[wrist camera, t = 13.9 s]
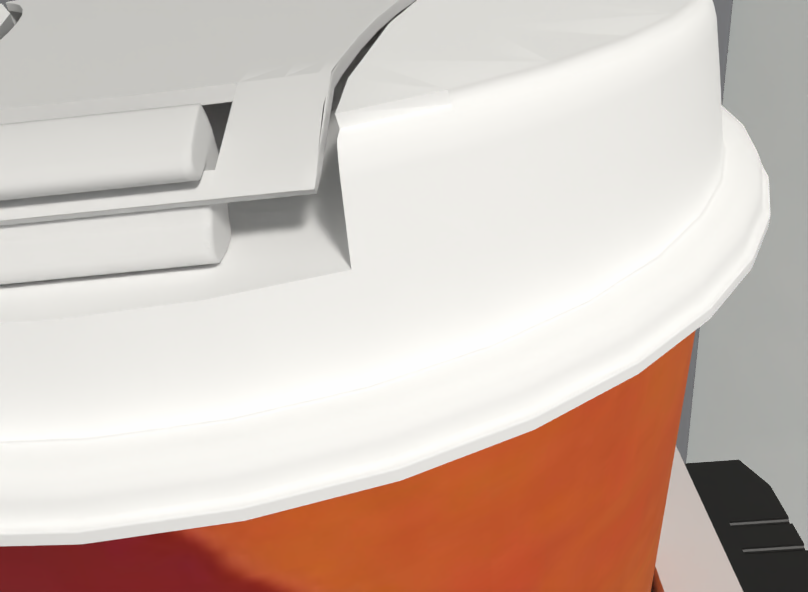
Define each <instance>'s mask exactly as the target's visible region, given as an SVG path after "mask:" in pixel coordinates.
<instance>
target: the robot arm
mask: <svg viewBox="0 0 808 592" xmlns="http://www.w3.org/2000/svg"><path fill="white" fill-rule="evenodd" d="M788 518H789V517H788V515H787V514H786V512H785V510H784V509H783V507H782V505H781V503H780V502H779V500H778V498H777V497H776V495H775V493H774V491H773V490H772V488H771V486H770V485H769V484H767V483H766V482H765V481H764V480H763V479H761V478H760V477H759V476H758V475H757V474H755V473H754V472H753V471H752V470H751V469H749V468H748V467H747V466H746V465H744V464H743V463H742V462H741V461H740V460H729V461H715V462H701V463H688V464H684V462H683V460H682V458H681V455H680V453H679V451H678V449H677V447H675V453H674V459H673V465H672V470H671V476H670V482H669V488H668V494H667V499H666V505H665V511H664V517H663V523H662V528H661V534H660V540H659V546H658V552H657V558H656V563H655V569H654V575H653V581H652V587H651V592H808V550H807V551H806V550H805V548H804V543H803V541H802V540H801V538H800V536H799V534H798V533H797V531H796V529H795V527H794V526H793V524H790V523H789V519H788Z"/></svg>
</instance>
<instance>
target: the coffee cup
mask: <svg viewBox="0 0 808 592" xmlns="http://www.w3.org/2000/svg"><path fill="white" fill-rule="evenodd" d="M6 5H7V8H8V10H7V9H6V8H5V7H4V6H3V5H2V3H1V4H0V592H651V587H652V581H653V575H654V569H655V563H656V558H657V552H658V546H659V540H660V534H661V528H662V523H663V517H664V511H665V505H666V499H667V494H668V488H669V482H670V476H671V470H672V465H673V459H674V453H675V447H676V441H677V435H678V430H679V424H680V418H681V412H682V406H683V401H684V395H685V389H686V383H687V377H688V372H689V366H690V360H691V354H692V348H693V343H694V337H695V331H696V329H698V328H699V327H700V326H702V325H703V324H704V323H705V322H707V321H708V320H709V319H710V318H711V317H712V316H713V315H714V313H715V312H716V311H717V310H718V309H719V307H720V306H721V305H722V304H723V303H724V301H725V300H726V299H727V298H728V297H729V295H730V294H731V293H732V292H733V291H734V289H735V288H736V287H737V286H738V285H739V283H740V282H741V281H742V280H743V279H744V277H745V276H746V275H747V274H748V273H749V271H750V270H751V269H752V267H753V264H754V262H755V259H756V256H757V254H758V251H759V249H760V246H761V244H762V241H763V239H764V236H765V234H766V231H767V228H768V226H769V221H770V192H769V177H768V175H767V173H766V171H765V169H764V167H763V166H762V163H761V160H760V157H759V155H758V152H757V150H756V148H755V146H754V144H753V142H752V141H751V139H750V137H749V135H748V133H747V131H746V129H745V127H744V125H743V124H742V123H741V122H739V121H738V120H737V119H736V118H735V117H734V116H733V115H732V114H731V113H730V112H729V111H727V110H726V109H725V108H724V107H723V106H722V105H721V83H720V64H719V47H718V31H717V16H716V12H715V7H714V3H713V1H712V0H15V1H9V2H6ZM8 11H9V12H8Z"/></svg>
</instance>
